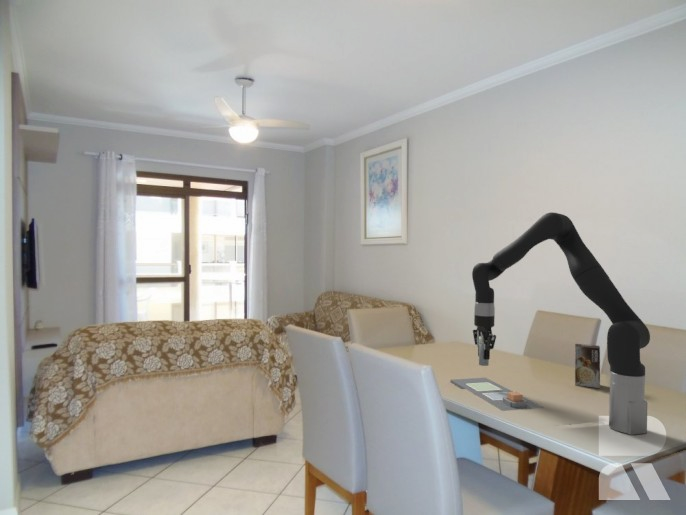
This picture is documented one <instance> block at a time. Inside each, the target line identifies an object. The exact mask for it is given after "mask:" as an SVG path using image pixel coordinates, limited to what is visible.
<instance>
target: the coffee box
mask: <svg viewBox="0 0 686 515" xmlns="http://www.w3.org/2000/svg"><path fill="white" fill-rule="evenodd" d="M574 354H575V355H574V386H577V385H578V387H585V386H586V387H589V388H596V389H601V346H600V345H593V344H584V343H575V345H574Z"/></svg>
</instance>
